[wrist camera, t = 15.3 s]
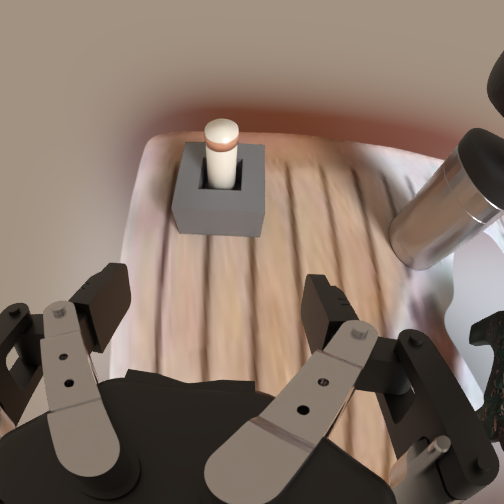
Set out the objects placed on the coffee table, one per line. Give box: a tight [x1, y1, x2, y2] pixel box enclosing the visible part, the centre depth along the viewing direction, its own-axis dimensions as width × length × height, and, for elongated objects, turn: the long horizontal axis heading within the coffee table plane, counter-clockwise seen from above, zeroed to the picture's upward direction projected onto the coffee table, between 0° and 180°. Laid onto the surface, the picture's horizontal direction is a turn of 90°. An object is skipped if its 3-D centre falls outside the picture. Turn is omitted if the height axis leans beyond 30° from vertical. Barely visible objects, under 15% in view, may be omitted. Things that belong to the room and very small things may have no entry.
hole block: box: [171, 142, 265, 237], centre depth 34 cm, size 10×10×6 cm
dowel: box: [204, 119, 239, 190], centre depth 30 cm, size 3×3×12 cm
